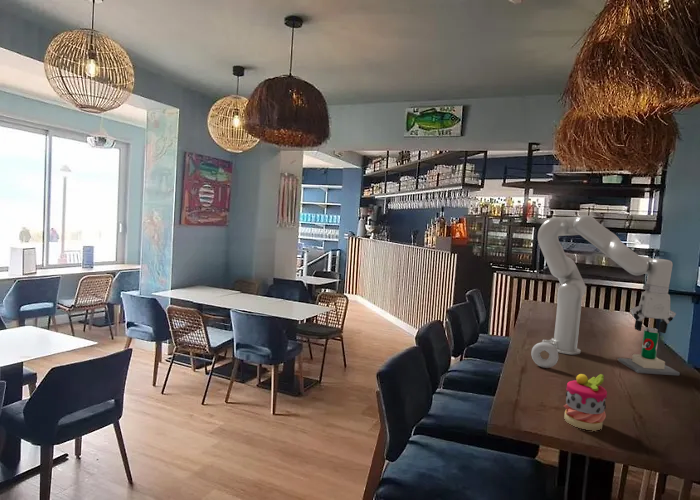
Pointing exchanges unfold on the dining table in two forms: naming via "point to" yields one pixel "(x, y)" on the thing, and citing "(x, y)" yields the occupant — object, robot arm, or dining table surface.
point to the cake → (585, 402)
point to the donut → (548, 348)
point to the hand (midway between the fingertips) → (649, 331)
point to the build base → (647, 370)
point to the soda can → (650, 343)
